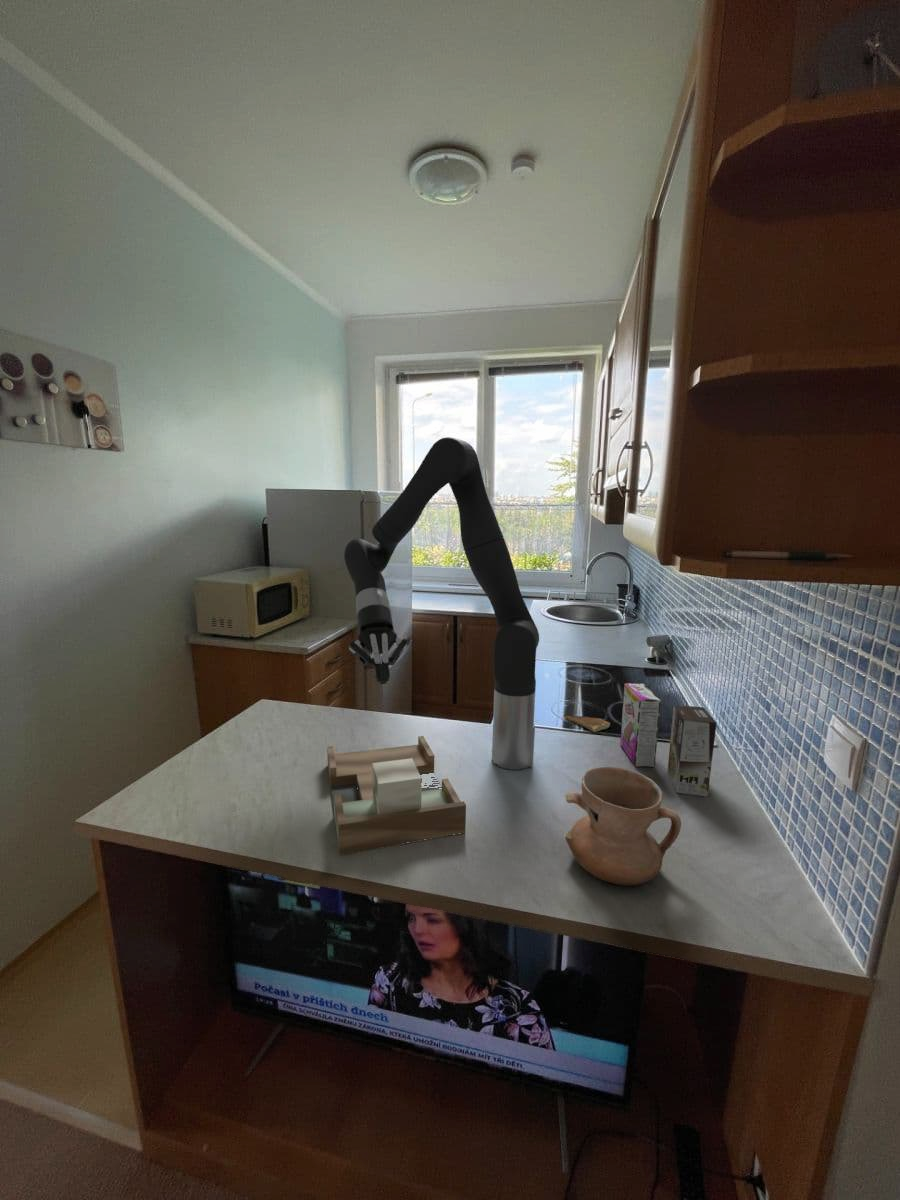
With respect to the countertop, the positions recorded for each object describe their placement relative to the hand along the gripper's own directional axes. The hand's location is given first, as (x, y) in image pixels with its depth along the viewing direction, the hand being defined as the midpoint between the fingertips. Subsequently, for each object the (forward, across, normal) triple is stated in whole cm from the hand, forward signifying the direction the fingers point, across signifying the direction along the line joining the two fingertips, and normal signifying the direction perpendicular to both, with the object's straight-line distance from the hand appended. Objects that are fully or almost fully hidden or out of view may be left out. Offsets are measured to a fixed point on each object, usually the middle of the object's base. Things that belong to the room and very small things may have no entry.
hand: (383, 682), depth 104 cm
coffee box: (+29, +62, +3) cm, 69 cm away
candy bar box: (+19, +60, +12) cm, 64 cm away
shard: (+6, +58, +26) cm, 64 cm away
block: (+25, 0, +2) cm, 25 cm away
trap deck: (+19, 0, +11) cm, 22 cm away
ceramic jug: (+41, +32, -10) cm, 53 cm away
